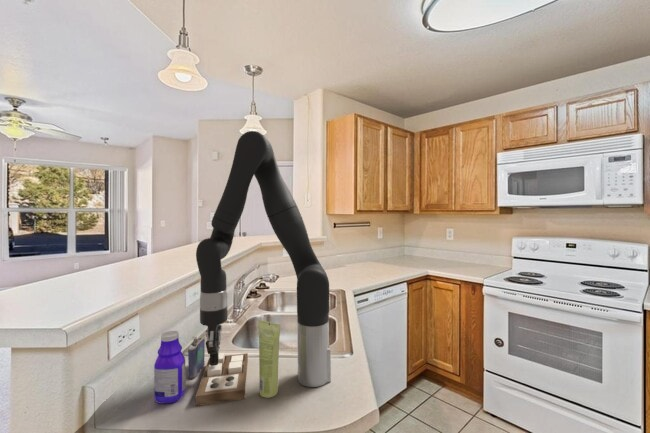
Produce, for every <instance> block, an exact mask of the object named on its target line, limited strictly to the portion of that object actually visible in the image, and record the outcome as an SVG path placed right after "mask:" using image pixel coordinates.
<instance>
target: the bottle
mask: <svg viewBox="0 0 650 433" xmlns="http://www.w3.org/2000/svg"><path fill="white" fill-rule="evenodd" d="M160 338H161V339H160V346H159V348H158V349H157V357H156V360H155V362H154V364H153V367H154V372H153V373H154V379H153V380H154V385H153V386H154V388H153V390H154V395H153V396H154V399H155V401H156V403H159V404H172V403H176V402H178V401H180V399H181V398H182V397H183V396H184V393H185V391H186V357H185V355H184V353H183V352H182V349H183V346H182V345H181V343H180V340H179V331H177V330H168V331H165V332H163V333H162V334H161V335H160Z"/></svg>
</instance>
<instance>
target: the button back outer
mask: <svg viewBox="0 0 650 433" xmlns="http://www.w3.org/2000/svg"><path fill="white" fill-rule="evenodd" d="M225 356H226V355H225V352H219V361H218V364H219V363H222V364H224V362H225Z"/></svg>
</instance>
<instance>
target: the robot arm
mask: <svg viewBox="0 0 650 433" xmlns="http://www.w3.org/2000/svg"><path fill="white" fill-rule="evenodd" d="M253 177H255V179H256V181H257V184H258V186H259V189H260V194H261V197H262V199H261V200H262V203H263V207H264V210H265V211H264V212H265V214H266V215H267V219H268V220H269V223H270V226H271V228H272V230H273V232H274V234H275V236H276V237H277V239H278V241H279V242H280V244H281V246H282V247H283V248H284V250H285V251H286V252H287V255H288V256H289V259H290V261H291V263H292V266H293V269H294V272H295V275H296V280H297V281H296V314H297V315H296V316H297V319H296V320H297V324H296V325H297V380H298V382H299V384H301V385H302V386H304V387H307V388H316V387H317V388H318V387H322V386H324V385H325V384H327V383H330V382H331V381H332V366H331V364H332V362H331V361H332V360H331V356H332V354H331V352H332V351H331V347H330V343H329V342H330V340H329V338H330V336H329V334H330V333H329V332H330V331H329V326H330V325H329V320H330V318H329V314H330V281H329V277H328V275H327V272H326V271H325V268H323V266H322V264H321V263H320V261H319V259H318V258H317V255H316V253H315V252H314V249H313V248H312V245H311V242H310V238H309V235H308V231H307V228H306V225H305V222H304V220H303V216H302V213H301V211H300V210H299V207H298V205H297V203H296V201H295V199H294V197H293V195H292V192H291V190H290V189H289V187H288V185H287V184H286V182H285V180H284V178H283V176H282V174H281V171H280V169H279V165H278V163H277V158H276V155H275V152H274V149H273V146H272V144H271V142H270V141H269V140H268V138H267V137H266V136H265V135H264V134H262V133H261V132H259V131H256V130H250V131H246V132H244V133H243V134H242V135H241V136H240V137H239V138H238V141H237V143H236V147H235V151H234V156H233V160H232V165H231V168H230V172H229V175H228V178H227V182H226V185H225V187H224V190H223V193H222V195H221V198H220V200H219V202H218V204H217V207H216V209H215V211H214V214H213V216H212V220H211V228H212V231H211V234H210V237H208V238H205V239H202V240H201V241H200V242H199V243H198V245H197V246H196V247H197V248H196V252H195V258H196V263H197V267H198V272H199V275H200V294H199V295H200V296H199V322H200V324H201V325H202V326H206V327H207V329H206V330H205V337H206V341H205V348H206V351H207V354H208V355H209V357H210V365H211V366H214V365H218V361H219V354H220V352H219V350H220V345H221V341H222V330H223V325H222V324H224V323H226V322H227V321H228V291H227V273H226V271H225V270H224V269H222V259H224V258H226V256H227V255H228V254H229V252H230V250H231V248H232V244H233V239H234V236H235V231H236V229H237V226H238V224H239V222H240V219H241V216H242V215H243V213H244V210H245V206H246V203H247V202H246V201H247V197H248V193H249V188H250V185H251V182H252V180H253Z"/></svg>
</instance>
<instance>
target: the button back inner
mask: <svg viewBox="0 0 650 433" xmlns="http://www.w3.org/2000/svg"><path fill="white" fill-rule="evenodd" d="M236 355H237V354H236ZM236 361H242V362H243V355H237V356H232V358H231V362H236Z"/></svg>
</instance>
